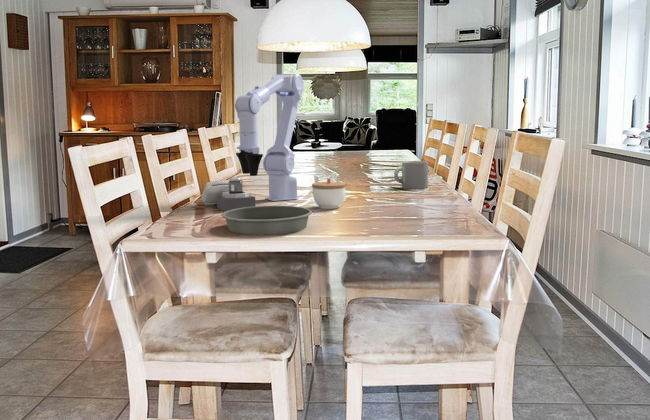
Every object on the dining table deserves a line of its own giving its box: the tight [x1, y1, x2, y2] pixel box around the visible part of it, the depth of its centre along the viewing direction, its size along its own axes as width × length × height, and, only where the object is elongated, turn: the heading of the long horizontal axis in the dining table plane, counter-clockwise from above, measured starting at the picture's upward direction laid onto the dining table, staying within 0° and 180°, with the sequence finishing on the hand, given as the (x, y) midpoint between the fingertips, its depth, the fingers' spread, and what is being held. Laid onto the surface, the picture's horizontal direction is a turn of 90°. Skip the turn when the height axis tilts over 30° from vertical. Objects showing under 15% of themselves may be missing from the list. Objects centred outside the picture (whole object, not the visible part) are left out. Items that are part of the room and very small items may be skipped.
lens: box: [228, 177, 244, 194], centre depth 228 cm, size 4×4×6 cm
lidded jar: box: [311, 177, 347, 210], centre depth 228 cm, size 11×11×9 cm
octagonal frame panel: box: [216, 190, 256, 212], centre depth 229 cm, size 10×9×5 cm
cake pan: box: [221, 205, 313, 235], centre depth 195 cm, size 25×25×4 cm
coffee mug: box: [393, 160, 429, 190], centre depth 275 cm, size 13×10×10 cm
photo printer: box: [201, 179, 229, 205], centre depth 236 cm, size 10×4×12 cm
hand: (249, 174), depth 233 cm, fingers open, 7 cm apart
